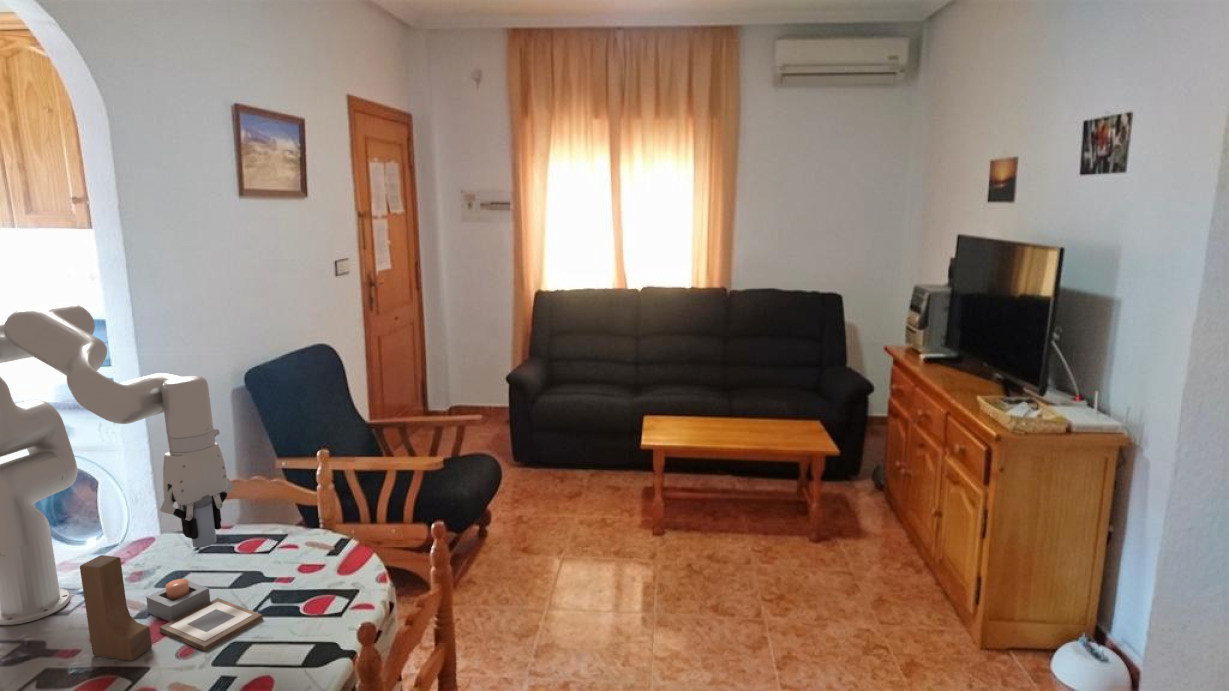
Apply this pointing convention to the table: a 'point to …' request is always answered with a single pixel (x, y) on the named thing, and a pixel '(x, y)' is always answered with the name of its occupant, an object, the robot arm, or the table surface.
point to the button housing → (177, 602)
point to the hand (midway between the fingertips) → (203, 531)
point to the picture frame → (211, 624)
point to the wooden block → (111, 611)
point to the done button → (177, 589)
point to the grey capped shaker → (204, 522)
